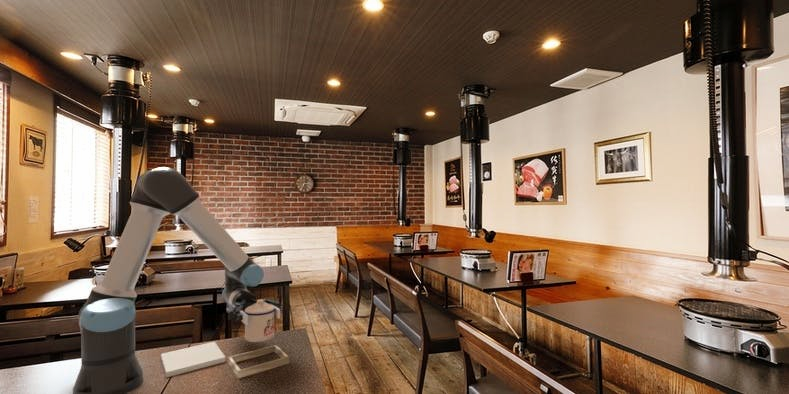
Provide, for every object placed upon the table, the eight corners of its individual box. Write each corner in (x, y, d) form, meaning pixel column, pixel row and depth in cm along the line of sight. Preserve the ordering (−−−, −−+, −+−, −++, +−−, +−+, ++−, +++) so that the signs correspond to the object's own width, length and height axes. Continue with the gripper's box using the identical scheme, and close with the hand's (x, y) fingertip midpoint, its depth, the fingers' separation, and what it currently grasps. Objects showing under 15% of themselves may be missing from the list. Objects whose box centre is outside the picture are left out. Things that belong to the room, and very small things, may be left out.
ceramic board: (160, 358, 117) (160, 353, 117) (214, 345, 127) (214, 341, 127) (166, 377, 104) (166, 372, 104) (225, 361, 114) (225, 357, 114)
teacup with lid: (269, 343, 107) (269, 304, 108) (238, 342, 107) (239, 304, 108) (281, 328, 119) (282, 294, 120) (254, 328, 119) (254, 293, 120)
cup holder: (228, 363, 113) (228, 357, 113) (275, 350, 122) (275, 344, 122) (238, 378, 103) (238, 371, 103) (289, 363, 112) (289, 356, 113)
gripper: (273, 306, 134) (297, 322, 116) (209, 317, 120) (225, 337, 103) (273, 286, 134) (297, 299, 116) (209, 295, 120) (225, 311, 103)
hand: (263, 317), depth 109 cm, fingers closed on teacup with lid, 9 cm apart
